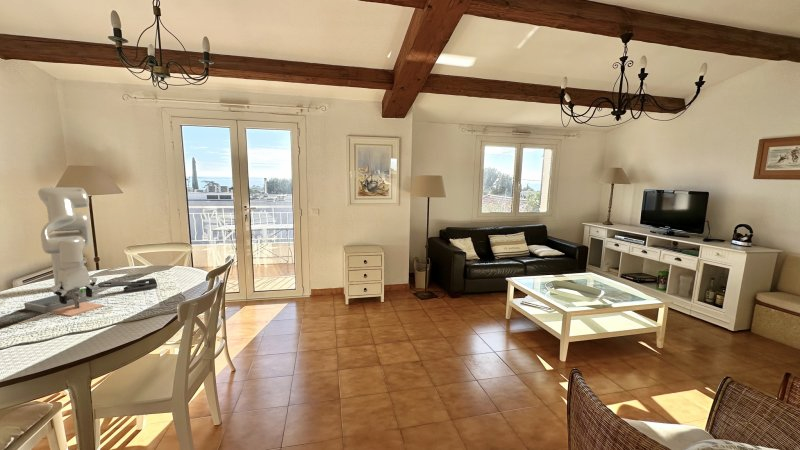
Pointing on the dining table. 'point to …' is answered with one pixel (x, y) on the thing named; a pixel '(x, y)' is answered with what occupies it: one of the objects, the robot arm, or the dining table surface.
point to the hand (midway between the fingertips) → (76, 300)
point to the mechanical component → (76, 295)
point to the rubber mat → (72, 311)
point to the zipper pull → (133, 285)
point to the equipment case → (38, 307)
